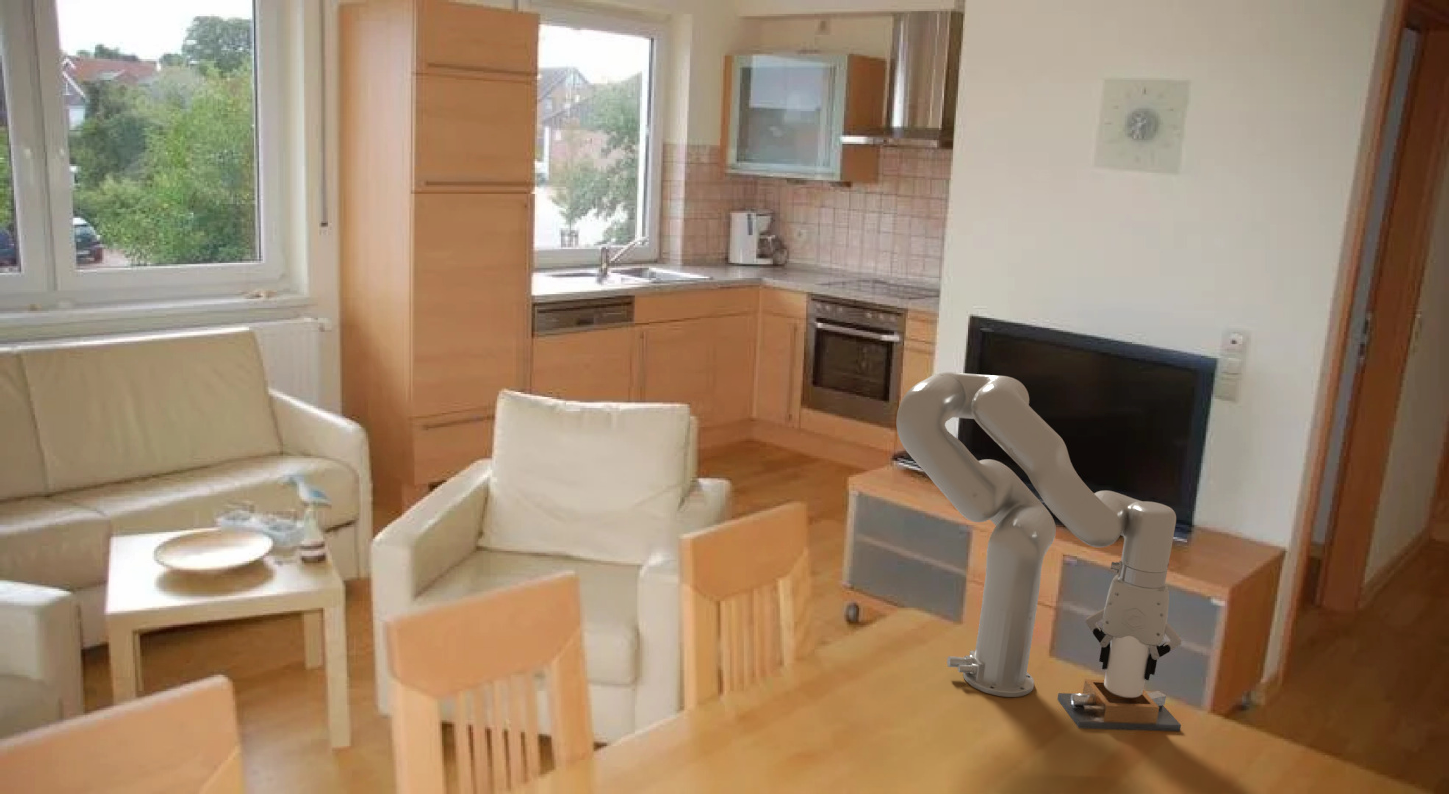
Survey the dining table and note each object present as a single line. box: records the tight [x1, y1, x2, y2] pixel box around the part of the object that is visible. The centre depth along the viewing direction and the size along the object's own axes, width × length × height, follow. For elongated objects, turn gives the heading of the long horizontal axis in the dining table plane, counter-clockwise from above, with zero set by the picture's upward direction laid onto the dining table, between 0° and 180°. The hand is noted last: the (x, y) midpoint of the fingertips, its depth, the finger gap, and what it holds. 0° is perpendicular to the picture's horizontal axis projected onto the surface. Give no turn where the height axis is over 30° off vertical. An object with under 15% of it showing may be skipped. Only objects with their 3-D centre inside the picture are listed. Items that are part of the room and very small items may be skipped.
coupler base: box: [1057, 678, 1182, 732], centre depth 203 cm, size 18×10×4 cm, turn 95°
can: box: [1104, 636, 1150, 698], centre depth 201 cm, size 6×6×12 cm
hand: (1126, 671), depth 202 cm, fingers closed on can, 6 cm apart
